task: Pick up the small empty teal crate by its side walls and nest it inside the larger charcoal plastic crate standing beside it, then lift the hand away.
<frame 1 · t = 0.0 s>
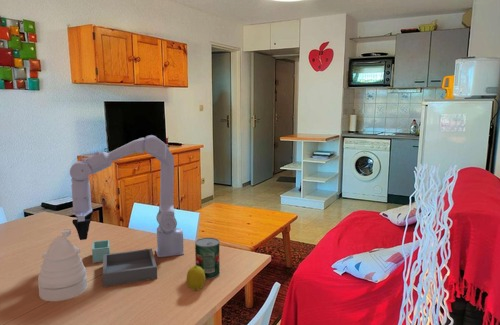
hand: (84, 235, 127), 10 cm above the table, tool pointing down, fingers open, 7 cm apart
teal crate: (101, 257, 134), on the table
honey pot: (64, 290, 110), on the table
charcoal crate: (129, 271, 122), on the table
canned tomato: (207, 274, 121), on the table
lemon: (196, 291, 110), on the table
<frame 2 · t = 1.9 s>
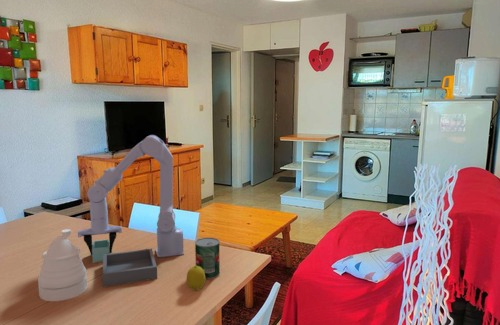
hand: (101, 253, 134), 1 cm above the table, tool pointing down, fingers closed on teal crate, 6 cm apart
teal crate: (101, 257, 134), on the table, touching gripper
everything else where it was.
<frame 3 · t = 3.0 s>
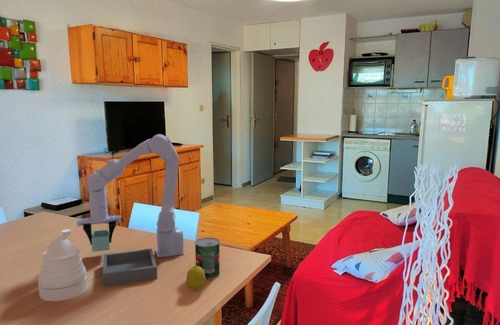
hand: (101, 242, 133), 5 cm above the table, tool pointing down, fingers closed on teal crate, 6 cm apart
teal crate: (101, 246, 133), point 4 cm above the table, touching gripper
everything else where it was.
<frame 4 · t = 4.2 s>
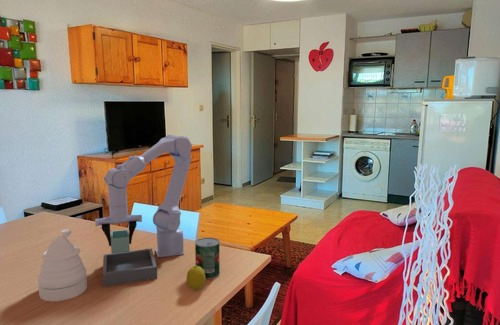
hand: (120, 243, 124), 8 cm above the table, tool pointing down, fingers closed on teal crate, 6 cm apart
teal crate: (120, 248, 125), point 7 cm above the table, touching gripper
everything else where it was.
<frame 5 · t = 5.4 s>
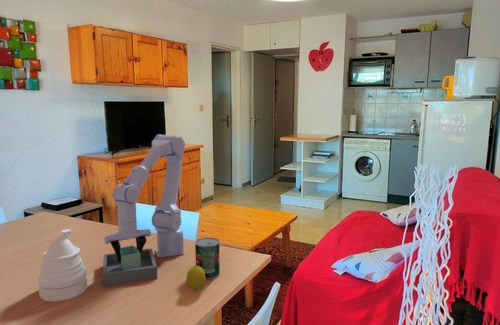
hand: (129, 260, 122), 4 cm above the table, tool pointing down, fingers closed on teal crate, 6 cm apart
teal crate: (129, 264, 122), point 2 cm above the table, touching gripper
everything else where it was.
when the fingers open (4 cm above the table, at t = 6.5 s): teal crate stays where it is, resting on charcoal crate.
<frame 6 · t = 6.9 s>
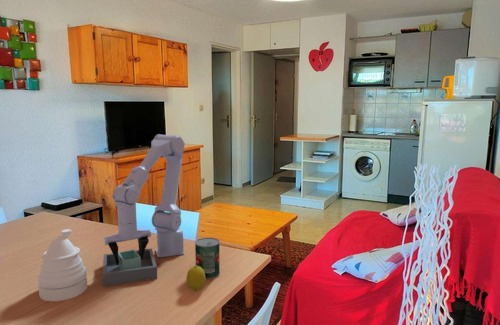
hand: (129, 261, 122), 4 cm above the table, tool pointing down, fingers open, 7 cm apart
teal crate: (129, 269, 122), point 1 cm above the table, touching charcoal crate
everything else where it was.
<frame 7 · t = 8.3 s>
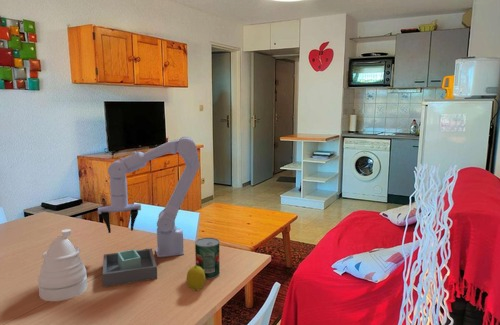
hand: (120, 230, 134), 9 cm above the table, tool pointing down, fingers open, 7 cm apart
nothing on the table moved.
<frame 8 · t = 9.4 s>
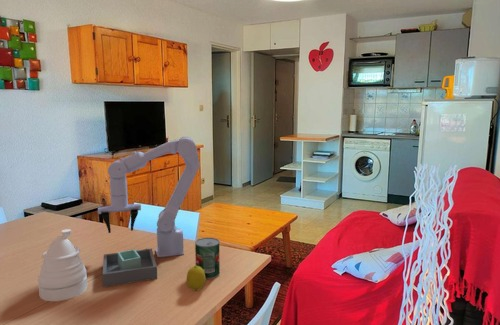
hand: (120, 230, 134), 9 cm above the table, tool pointing down, fingers open, 7 cm apart
nothing on the table moved.
at the end: teal crate inside the target area on the charcoal crate (0.3 cm from its centre), point 0.8 cm above the charcoal crate's base; teal crate tilted 0°; the gripper is holding nothing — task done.
